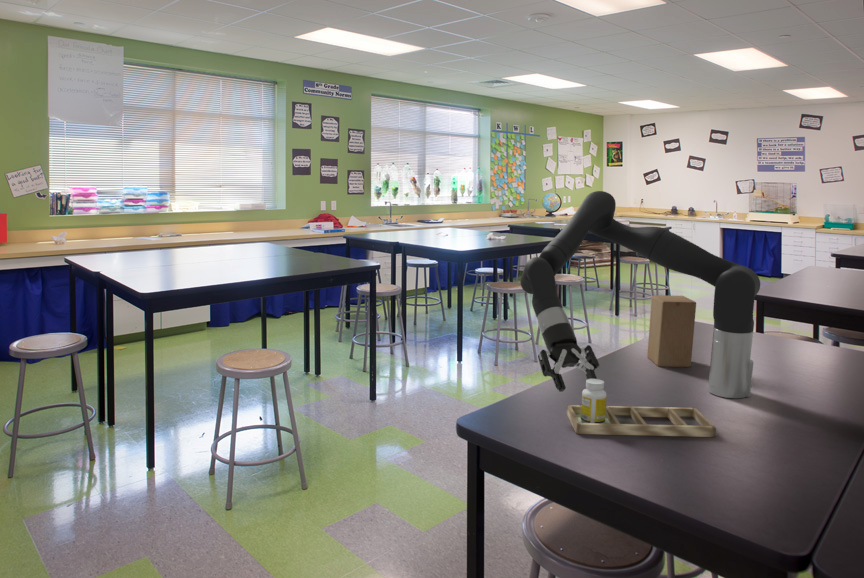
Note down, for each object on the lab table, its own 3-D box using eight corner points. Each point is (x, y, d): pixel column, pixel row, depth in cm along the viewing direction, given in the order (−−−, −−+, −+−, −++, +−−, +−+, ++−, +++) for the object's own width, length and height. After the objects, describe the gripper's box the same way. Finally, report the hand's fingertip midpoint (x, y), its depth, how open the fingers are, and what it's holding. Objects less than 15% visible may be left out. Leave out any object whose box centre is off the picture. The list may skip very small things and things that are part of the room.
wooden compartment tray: (694, 416, 145) (695, 407, 145) (715, 437, 134) (716, 427, 133) (566, 413, 146) (567, 405, 146) (576, 433, 135) (576, 424, 134)
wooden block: (691, 367, 183) (697, 301, 180) (657, 367, 184) (662, 301, 180) (678, 357, 193) (683, 295, 190) (646, 357, 193) (651, 295, 190)
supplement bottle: (605, 419, 142) (608, 379, 140) (603, 428, 137) (606, 386, 135) (581, 416, 144) (584, 376, 142) (579, 424, 139) (581, 383, 137)
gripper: (574, 334, 158) (597, 392, 150) (525, 339, 154) (545, 398, 145) (587, 319, 152) (611, 378, 144) (536, 323, 148) (558, 384, 139)
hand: (578, 388), depth 145 cm, fingers open, 8 cm apart
